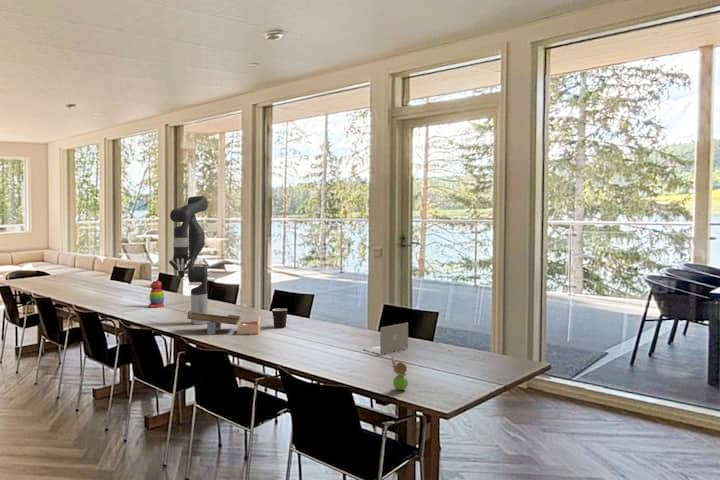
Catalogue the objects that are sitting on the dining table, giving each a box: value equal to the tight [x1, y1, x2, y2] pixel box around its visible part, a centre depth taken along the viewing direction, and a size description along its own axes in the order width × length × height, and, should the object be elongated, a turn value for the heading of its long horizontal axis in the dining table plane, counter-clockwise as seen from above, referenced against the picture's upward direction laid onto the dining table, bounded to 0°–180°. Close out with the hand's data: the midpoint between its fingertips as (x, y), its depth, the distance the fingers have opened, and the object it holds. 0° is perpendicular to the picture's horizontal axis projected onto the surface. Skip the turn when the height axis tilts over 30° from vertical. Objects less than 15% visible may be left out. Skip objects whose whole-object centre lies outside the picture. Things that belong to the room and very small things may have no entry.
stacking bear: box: [148, 279, 165, 309], centre depth 395 cm, size 11×10×18 cm
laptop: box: [366, 322, 409, 355], centre depth 275 cm, size 18×12×13 cm
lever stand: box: [206, 322, 222, 336], centre depth 316 cm, size 17×4×6 cm, turn 3°
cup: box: [236, 315, 262, 335], centre depth 313 cm, size 11×11×8 cm
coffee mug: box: [271, 307, 288, 329], centre depth 328 cm, size 12×9×10 cm
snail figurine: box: [391, 356, 409, 391], centre depth 214 cm, size 5×6×12 cm
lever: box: [186, 309, 241, 326], centre depth 315 cm, size 14×26×5 cm, turn 93°
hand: (181, 277), depth 316 cm, fingers closed
